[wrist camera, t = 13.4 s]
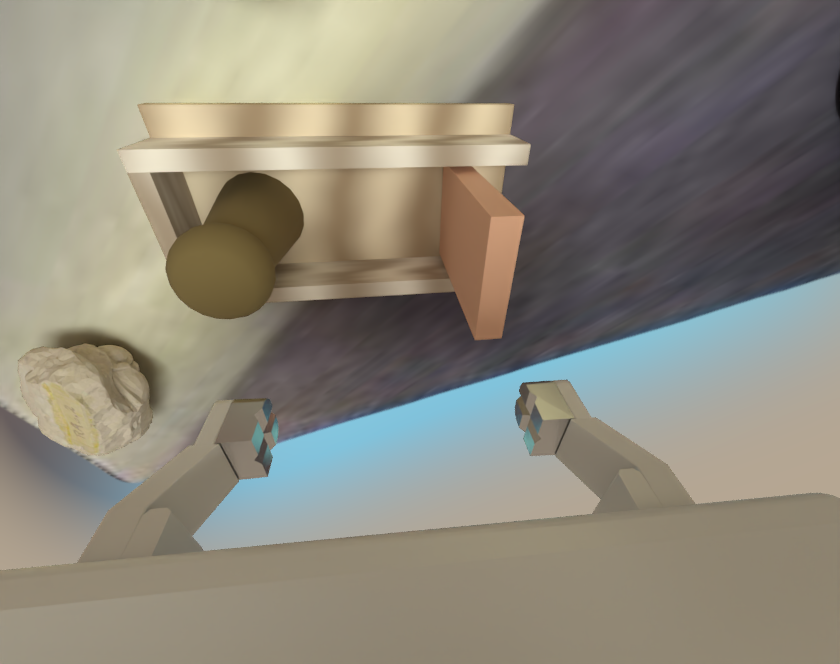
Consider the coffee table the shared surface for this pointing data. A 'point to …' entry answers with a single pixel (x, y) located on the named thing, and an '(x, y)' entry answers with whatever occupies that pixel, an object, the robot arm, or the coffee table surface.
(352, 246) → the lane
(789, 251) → the coffee table surface
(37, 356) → the fossil replica
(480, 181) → the block
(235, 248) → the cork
